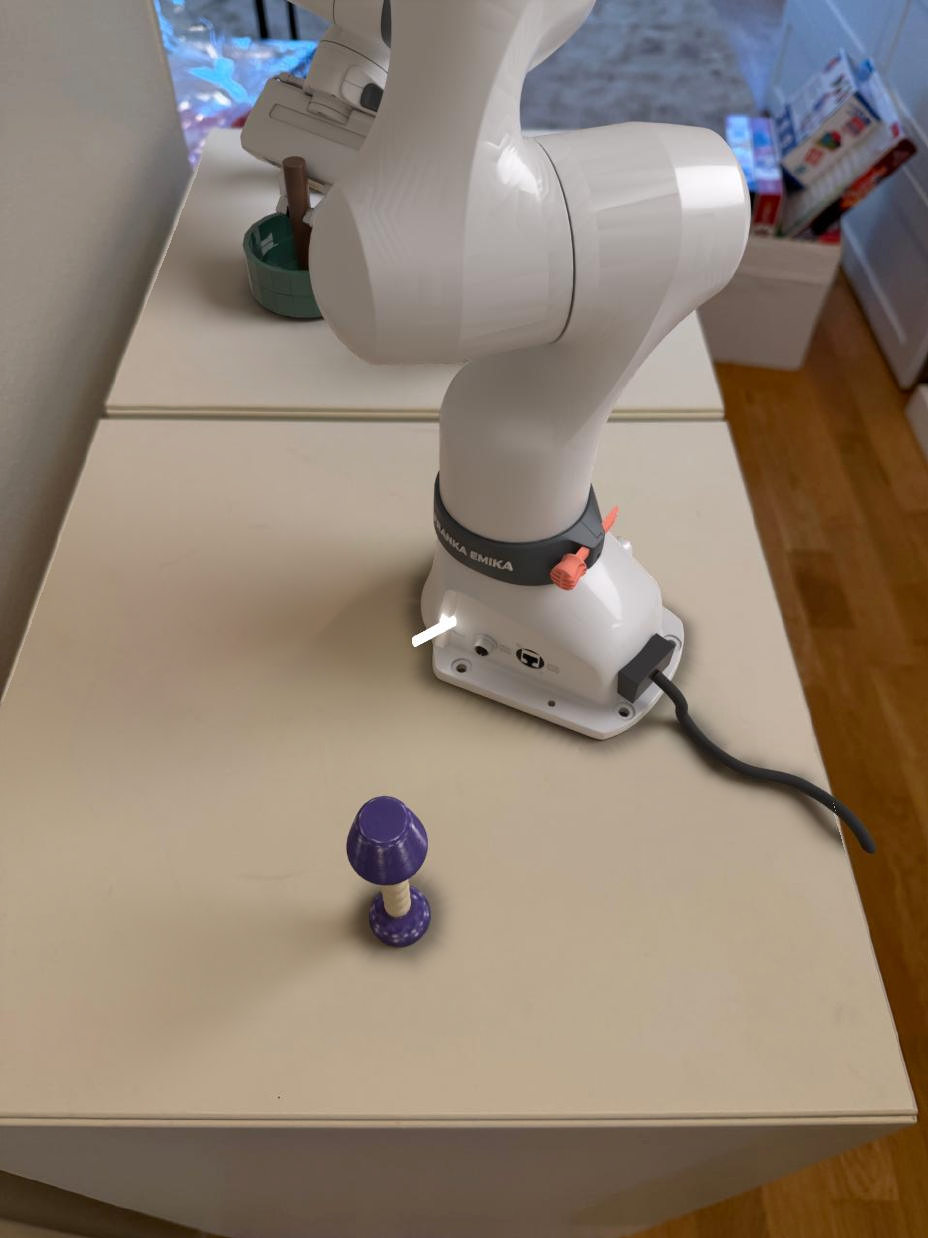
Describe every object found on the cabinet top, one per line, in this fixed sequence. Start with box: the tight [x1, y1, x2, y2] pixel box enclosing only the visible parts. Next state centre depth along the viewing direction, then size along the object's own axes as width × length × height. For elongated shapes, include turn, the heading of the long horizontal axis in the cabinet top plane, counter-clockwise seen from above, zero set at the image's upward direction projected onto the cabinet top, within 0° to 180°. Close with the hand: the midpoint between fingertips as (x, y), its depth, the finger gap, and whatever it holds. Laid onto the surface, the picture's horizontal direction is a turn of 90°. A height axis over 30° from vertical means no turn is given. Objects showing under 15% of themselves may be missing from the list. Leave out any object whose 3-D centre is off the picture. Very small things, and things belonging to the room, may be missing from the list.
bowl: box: [241, 207, 323, 318], centre depth 105 cm, size 13×13×6 cm
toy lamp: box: [345, 795, 432, 948], centre depth 56 cm, size 5×5×17 cm
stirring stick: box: [282, 156, 312, 271], centre depth 101 cm, size 2×2×14 cm
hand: (297, 221), depth 100 cm, fingers closed on stirring stick, 2 cm apart
